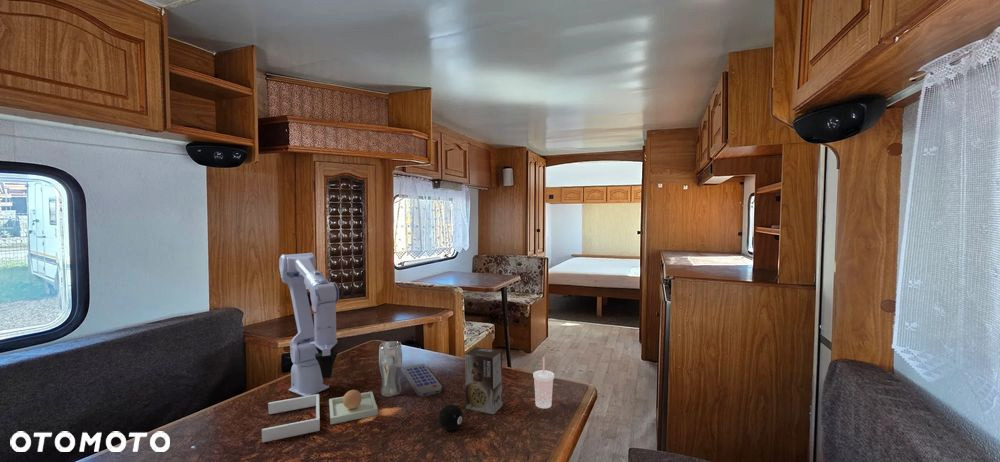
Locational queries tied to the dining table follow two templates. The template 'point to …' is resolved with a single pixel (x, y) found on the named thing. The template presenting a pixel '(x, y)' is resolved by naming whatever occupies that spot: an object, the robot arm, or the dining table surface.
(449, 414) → the billiard ball
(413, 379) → the remote control
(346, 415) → the tray
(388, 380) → the beer glass
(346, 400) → the ball
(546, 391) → the beverage cup
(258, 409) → the dining table surface
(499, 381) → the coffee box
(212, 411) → the dining table surface
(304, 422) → the white bent bar
